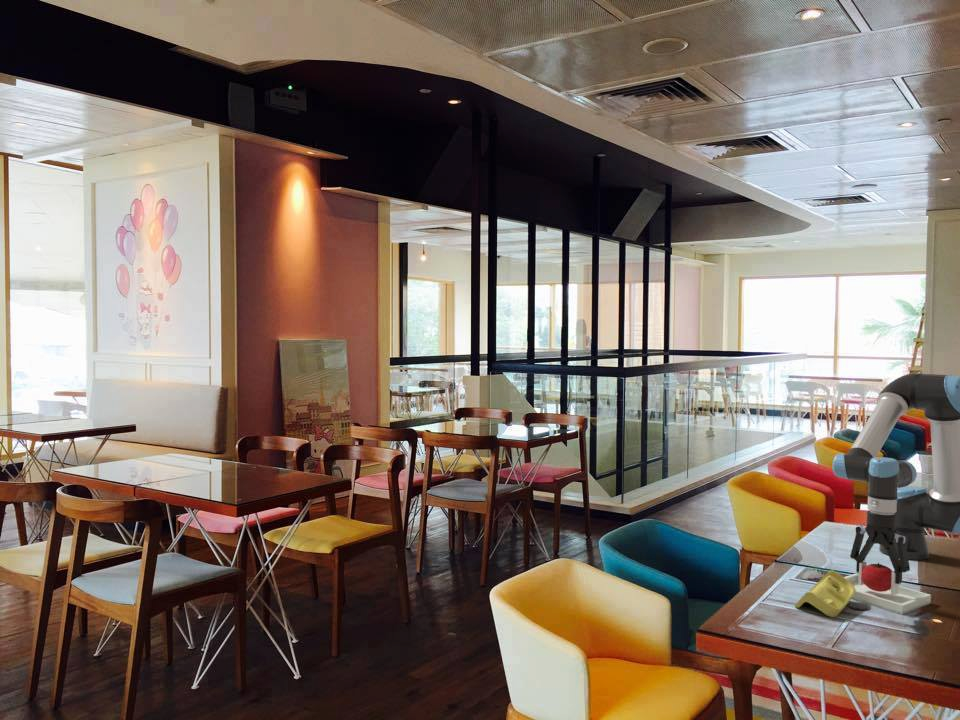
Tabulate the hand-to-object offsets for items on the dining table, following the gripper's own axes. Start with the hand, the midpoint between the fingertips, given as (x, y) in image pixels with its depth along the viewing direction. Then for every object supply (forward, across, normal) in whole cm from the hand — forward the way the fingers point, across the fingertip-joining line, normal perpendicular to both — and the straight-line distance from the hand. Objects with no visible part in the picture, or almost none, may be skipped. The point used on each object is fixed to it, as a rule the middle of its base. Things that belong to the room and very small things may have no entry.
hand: (877, 589), depth 228 cm
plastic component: (+3, -4, -19) cm, 20 cm away
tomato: (0, 0, 0) cm, 0 cm away
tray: (+2, 0, 0) cm, 2 cm away
